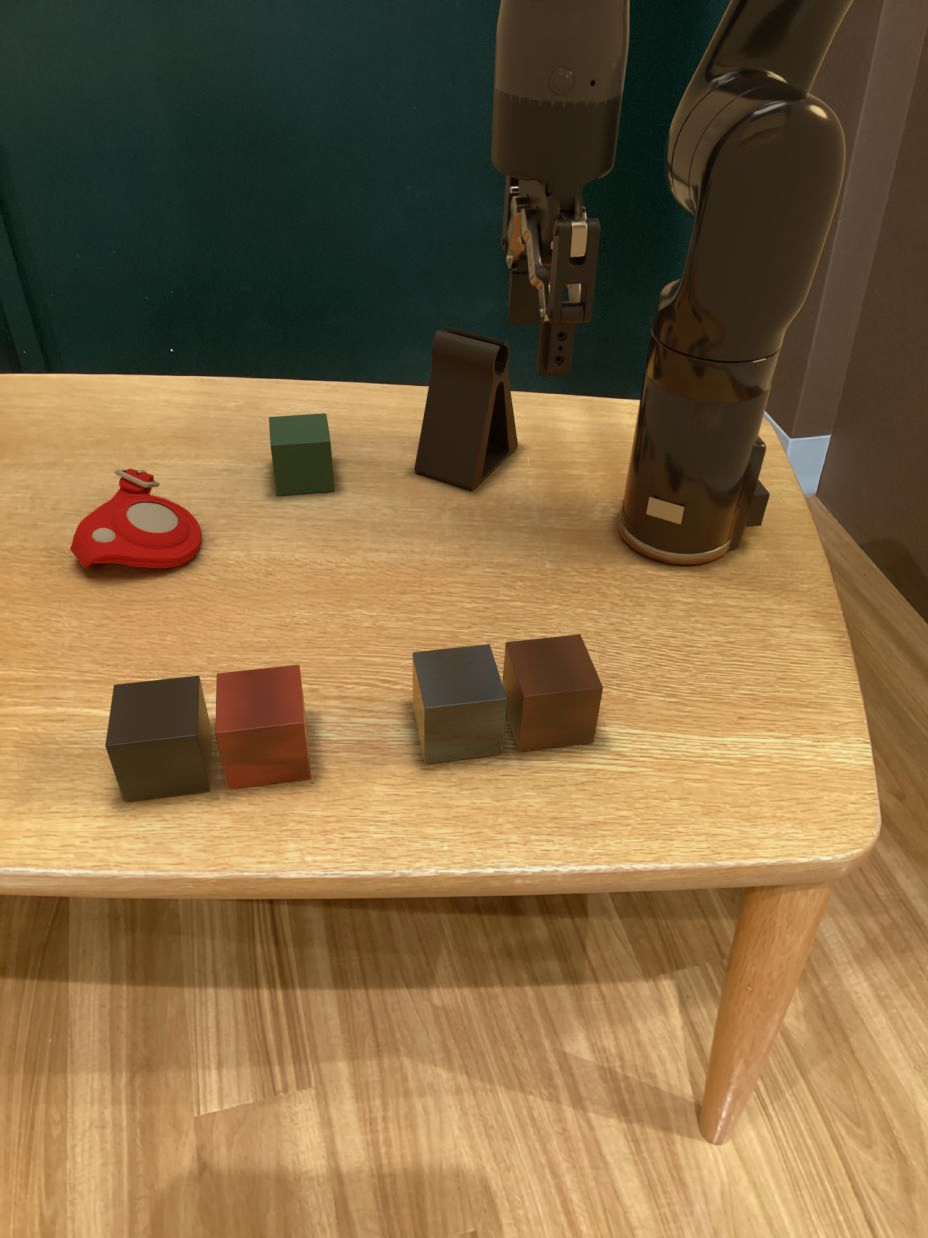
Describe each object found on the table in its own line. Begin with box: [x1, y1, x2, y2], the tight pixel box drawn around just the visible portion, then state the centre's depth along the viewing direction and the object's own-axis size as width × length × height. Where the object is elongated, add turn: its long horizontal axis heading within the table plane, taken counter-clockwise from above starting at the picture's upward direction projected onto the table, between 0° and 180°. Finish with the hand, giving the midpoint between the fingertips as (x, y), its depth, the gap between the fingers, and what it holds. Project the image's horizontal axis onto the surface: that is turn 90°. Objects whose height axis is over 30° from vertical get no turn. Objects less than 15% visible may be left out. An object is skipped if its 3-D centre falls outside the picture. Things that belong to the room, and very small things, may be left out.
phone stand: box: [413, 325, 519, 491], centre depth 81 cm, size 9×6×12 cm, turn 150°
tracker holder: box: [69, 468, 203, 570], centre depth 73 cm, size 12×4×10 cm
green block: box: [268, 412, 335, 497], centre depth 81 cm, size 5×5×5 cm
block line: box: [104, 633, 604, 803], centre depth 57 cm, size 29×5×5 cm, turn 101°
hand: (537, 346), depth 64 cm, fingers open, 8 cm apart
